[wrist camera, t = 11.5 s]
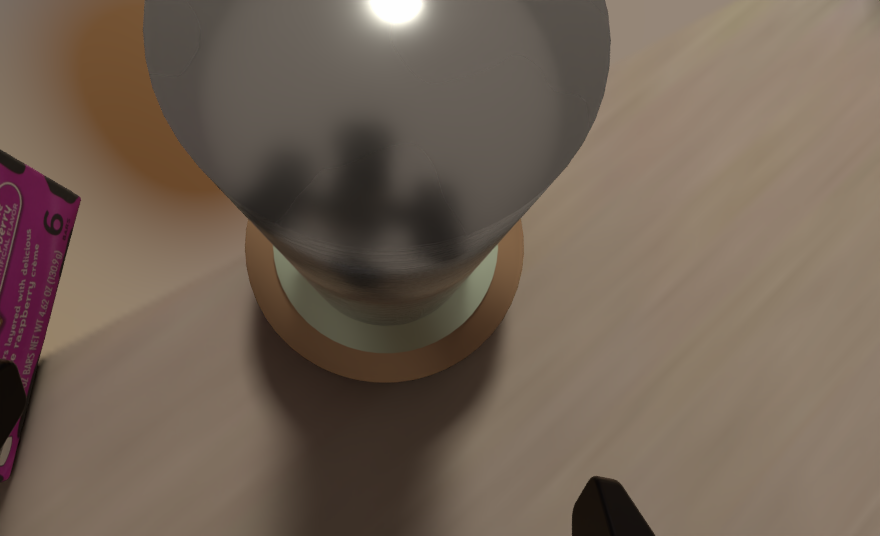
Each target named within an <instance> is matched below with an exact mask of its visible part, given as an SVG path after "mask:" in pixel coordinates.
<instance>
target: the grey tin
mask: <svg viewBox="0 0 880 536" xmlns="http://www.w3.org/2000/svg"><path fill="white" fill-rule="evenodd" d="M143 23H144V24H143V34H144V46H145V58H146V63H147V67H148V71H149V75H150V79H151V83H152V87H153V90H154V92H155V95H156V97H157V100H158V102H159V105H160V107H161V110H162V112H163V115H164V117H165V118H166V120H167V122H168V124H169V125H170V127H171V129H172V130H173V132H174V134H175V136H176V137H177V139H178V141H179V142H180V144H181V145H182V146H183V147H184V148H185V150H186V151H187V152H188V154H189V155H190V156H191V157H192V159H193V160H194V161H195V163H196V164H197V165H198V166H199V168H201V169H202V171H203V172H204V173H205V174H206V175H207V176H208V177H209V178H210V179H211V180H212V181H213V182H214V183H215V184H216V185H217V186H218V188H219V189H221V191H222V192H223V193H224V194H225V195H226V196H227V197H228V198H229V199H230V200H231V201H232V202H233V203H234V204H235V205H236V206H237V208H238V209H239V210H240V211H241V212H242V213H243V214H244V215H245V216H246V217H247V218H248V219H249V220H250V221H251V222H252V223H253V224H254V225H255V227H256V228H257V229H258V230H259V231H260V232H261V233H262V234H263V235H264V236H265V237H266V238H267V239H268V240H269V241H270V242H271V243H272V244H273V245H274V247H275V248H276V249H277V250H278V251H279V252H280V253H281V254H282V255H283V256H284V257H285V258H286V259H287V260H288V261H289V262H290V263H291V264H292V266H293V267H294V268H295V269H296V270H297V271H298V272H299V273H300V274H301V275H302V276H303V277H304V278H305V279H306V280H307V281H308V282H309V283H310V284H311V286H312V287H313V288H314V289H315V290H316V291H317V292H318V293H319V294H320V295H321V296H322V297H323V298H324V299H325V300H326V301H327V302H328V303H329V304H330V305H331V306H332V307H334V308H335V309H337V310H338V311H339V312H341V313H343V314H344V315H346V316H348V317H350V318H352V319H355V320H358V321H360V322H364V323H368V324H372V325H382V326H390V325H400V324H406V323H410V322H413V321H416V320H419V319H421V318H423V317H425V316H427V315H429V314H431V313H432V312H434V311H436V310H437V309H438V308H439V307H441V306H442V305H443V304H444V303H445V302H446V301H447V300H448V299H449V298H450V297H451V296H452V295H453V294H454V293H455V292H456V290H457V289H458V288H459V287H460V286H461V285H462V284H463V283H464V281H465V280H466V279H467V278H468V277H469V276H470V275H471V274H472V272H473V271H474V270H475V269H476V268H477V267H478V266H479V265H480V263H481V262H482V261H483V260H484V259H485V258H486V257H487V256H488V255H489V253H490V252H491V251H492V250H493V249H494V248H495V247H496V246H497V244H498V243H499V242H500V241H501V240H502V239H503V238H504V237H505V235H506V234H507V233H508V232H509V231H510V230H511V229H512V228H513V226H514V225H515V224H516V223H517V222H518V221H519V220H520V219H521V217H522V216H523V215H524V214H525V213H526V212H527V211H528V210H529V208H530V207H531V206H532V205H533V204H534V203H535V202H536V201H537V199H538V198H539V197H540V196H541V195H542V194H543V193H544V192H545V190H546V189H547V188H548V187H549V186H550V185H551V184H552V183H553V181H554V180H555V179H556V178H557V177H558V176H559V175H560V174H561V172H562V171H563V170H564V169H565V168H566V167H567V165H568V164H569V163H570V161H571V160H572V158H573V157H574V155H575V154H576V153H577V151H578V150H579V148H580V147H581V146H582V144H583V142H584V140H585V139H586V137H587V135H588V133H589V131H590V129H591V127H592V125H593V123H594V121H595V119H596V116H597V113H598V110H599V107H600V104H601V101H602V98H603V96H604V92H605V87H606V82H607V76H608V71H609V63H610V41H611V40H610V29H609V18H608V11H607V7H606V3H605V0H145V6H144V22H143Z"/></svg>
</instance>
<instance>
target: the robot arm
mask: <svg viewBox="0 0 880 536" xmlns="http://www.w3.org/2000/svg"><path fill="white" fill-rule="evenodd" d="M26 401H27V397H26V393H25V389H24V386H23V383H22V380H21V377H20V373H19V370H18V367H17V365H16V364H15V363H14V362H13V361H10V360H5V359H0V450H1V448H2V447H3V445H4V443H5V442H6V440H7V438H8V437H9V435H10V434H11V432H12V430H13V429H14V427H15V425H16V424H17V422H18V420H19V419H20V417H21V415H22V414H23V412H24V409H25V406H26ZM572 536H655V534H654V533H653V531H652V530H651V528H650V527H649V525H648V524H647V522H646V521H645V519H644V518H643V516H642V515H641V513H640V512H639V510H638V509H637V507H636V506H635V504H634V503H633V501H632V500H631V498H630V497H629V495H628V494H627V492H626V491H625V489H624V488H623V486H622V485H621V484H620V483H619V482H618V481H617V480H614V479H610V478H605V477H600V476H593V477H592V478H590V480H589V481H588V483H587V484H586V486H585V488H584V489H583V491H582V493H581V494H580V496H579V498H578V499H577V501H576V503H575V505H574V508H573V513H572Z"/></svg>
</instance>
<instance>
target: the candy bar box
mask: <svg viewBox="0 0 880 536" xmlns="http://www.w3.org/2000/svg"><path fill="white" fill-rule="evenodd" d="M80 201H81V198H80V197H79V196H78V195H76V194H74V193H73V192H72V191H70V190H68V189H67V188H65V187H63V186H61V185H60V184H58V183H56V182H55V181H53V180H51V179H50V178H47V177H46V176H44V175H43V174H41V173H39V172H38V171H36V170H34V169H33V168H31V167H29V166H27V165H26V164H24V163H22V162H21V161H19V160H17V159H15V158H13V157H12V156H11V155H9V154H7V153H6V152H3V151H2V150H0V359H5V360H10V361H13V362H14V363H15V364H16V365H17V367H18V370H19V373H20V377H21V380H22V383H23V386H24V389H25V393H26V397H27V401H26V406H25V409H24V412H23V414H22V415H21V417H20V419H19V420H18V422H17V424H16V425H15V427H14V429H13V430H12V432H11V434H10V435H9V437H8V438H7V440H6V442H5V443H4V445H3V447H2V448H1V450H0V482H3V481H5V480H7V479H8V478H9V476H10V474H11V470H12V466H13V462H14V458H15V453H16V449H17V445H18V441H19V437H20V433H21V429H22V425H23V421H24V418H25V414H26V410H27V406H28V402H29V397H30V393H31V390H32V385H33V381H34V377H35V374H36V370H37V365H38V361H39V357H40V354H41V350H42V346H43V343H44V339H45V335H46V331H47V327H48V323H49V319H50V316H51V312H52V307H53V303H54V300H55V296H56V292H57V288H58V284H59V280H60V277H61V273H62V269H63V265H64V261H65V257H66V253H67V249H68V246H69V242H70V238H71V235H72V231H73V227H74V223H75V219H76V216H77V212H78V208H79V205H80Z"/></svg>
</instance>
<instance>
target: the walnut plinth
mask: <svg viewBox="0 0 880 536" xmlns="http://www.w3.org/2000/svg"><path fill="white" fill-rule="evenodd" d="M245 241H246V242H245V253H246V266H247V271H248V275H249V280H250V284H251V287H252V290H253V292H254V295H255V298H256V300H257V302H258V304H259V306H260V308H261V310H262V312H263V314H264V316H265V317H266V319H267V320H268V322H269V323H270V324H271V326H272V327H273V328H274V330H275V331H276V333H277V334H278V335H279V336H280V337H281V338H282V339H283V340H284V341H285V342H286V343H287V344H288V345H289V346H290V347H291V348H293V349H294V350H295V351H296V352H298V353H299V354H300V355H301V356H303V357H304V358H305V359H307V360H309V361H310V362H312V363H314V364H316V365H317V366H319V367H321V368H323V369H325V370H328V371H330V372H332V373H335V374H337V375H340V376H344V377H348V378H351V379H355V380H361V381H368V382H402V381H409V380H415V379H419V378H422V377H426V376H429V375H433V374H435V373H437V372H440V371H442V370H444V369H447V368H449V367H451V366H452V365H454V364H456V363H458V362H459V361H461V360H463V359H464V358H466V357H467V356H468V355H470V354H471V353H472V352H473V351H475V350H476V349H477V348H478V347H480V346H481V345H482V344H483V343H484V341H485V340H486V339H487V338H488V337H489V336H490V335H491V334H492V333H493V332H494V330H495V329H496V328H497V326H498V325H499V324H500V322H501V321H502V320H503V318H504V316H505V314H506V312H507V311H508V309H509V307H510V305H511V303H512V301H513V298H514V296H515V293H516V290H517V288H518V284H519V280H520V276H521V272H522V265H523V255H524V243H523V230H522V224H521V219H520V220H519V221H518V222H517V223H516V224H515V225H514V226H513V228H512V229H511V230H510V231H509V232H508V233H507V234H506V235H505V237H504V238H503V239H502V240H501V241H500V242H499V243H498V244H497V246H496V247H495V248H494V249H493V250H492V251H491V252H490V253H489V255H488V256H487V257H486V258H485V259H484V260H483V261H482V262H481V263H480V265H479V266H478V267H477V268H476V269H475V270H474V271H473V272H472V274H471V275H470V276H469V277H468V278H467V279H466V280H465V281H464V283H463V284H462V285H461V286H460V287H459V288H458V289H457V290H456V292H455V293H454V294H453V295H452V296H451V297H450V298H449V299H448V300H447V301H446V302H445V303H444V304H443V305H442V306H441V307H439V308H438V309H437V310H436V311H434V312H432V313H431V314H429V315H427V316H425V317H423V318H421V319H419V320H416V321H413V322H410V323H406V324H400V325H390V326H382V325H372V324H368V323H364V322H360V321H358V320H355V319H352V318H350V317H348V316H346V315H344V314H343V313H341V312H339V311H338V310H337V309H335V308H334V307H332V306H331V305H330V304H329V303H328V302H327V301H326V300H325V299H324V298H323V297H322V296H321V295H320V294H319V293H318V292H317V291H316V290H315V289H314V288H313V287H312V286H311V284H310V283H309V282H308V281H307V280H306V279H305V278H304V277H303V276H302V275H301V274H300V273H299V272H298V271H297V270H296V269H295V268H294V267H293V266H292V264H291V263H290V262H289V261H288V260H287V259H286V258H285V257H284V256H283V255H282V254H281V253H280V252H279V251H278V250H277V249H276V248H275V247H274V245H273V244H272V243H271V242H270V241H269V240H268V239H267V238H266V237H265V236H264V235H263V234H262V233H261V232H260V231H259V230H258V229H257V228H256V227H255V225H254V224H253V223H252V222H251V221H250V220H249V219H248V223H247V228H246V240H245Z"/></svg>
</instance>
